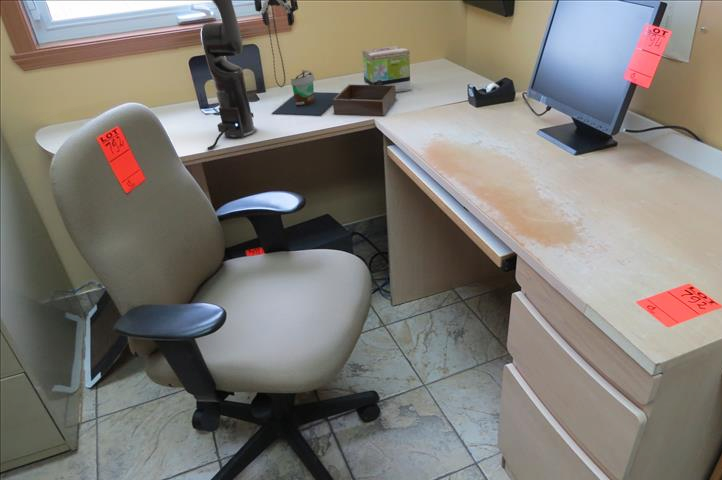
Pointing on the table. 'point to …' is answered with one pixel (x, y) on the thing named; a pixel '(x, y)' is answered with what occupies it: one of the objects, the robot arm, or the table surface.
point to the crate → (364, 107)
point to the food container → (303, 88)
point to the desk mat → (316, 109)
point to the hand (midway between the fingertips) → (279, 25)
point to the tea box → (387, 67)
